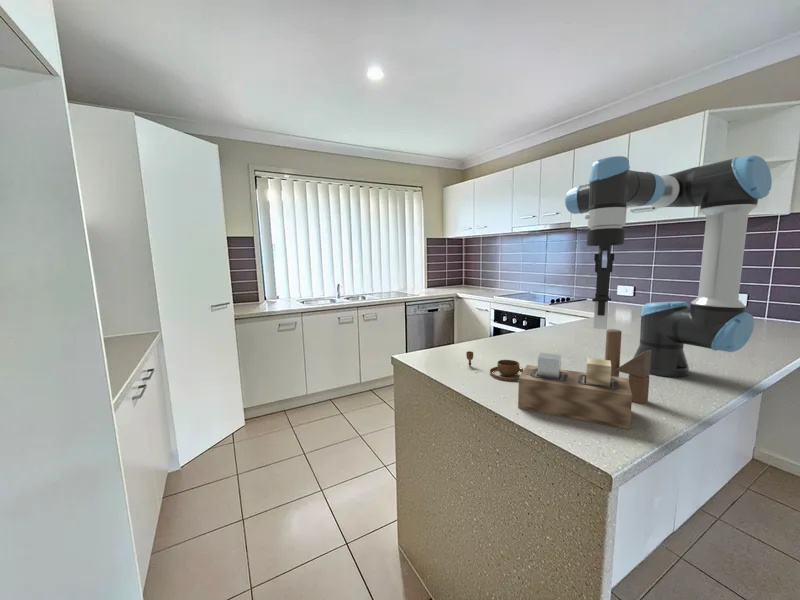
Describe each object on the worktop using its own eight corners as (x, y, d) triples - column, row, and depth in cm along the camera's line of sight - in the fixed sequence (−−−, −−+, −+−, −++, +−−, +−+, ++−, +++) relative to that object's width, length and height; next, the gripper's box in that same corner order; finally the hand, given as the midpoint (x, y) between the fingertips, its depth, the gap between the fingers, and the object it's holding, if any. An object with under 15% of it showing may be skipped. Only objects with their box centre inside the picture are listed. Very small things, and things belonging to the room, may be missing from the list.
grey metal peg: (560, 380, 88) (561, 355, 88) (558, 386, 84) (559, 360, 83) (539, 377, 91) (540, 352, 90) (537, 383, 87) (538, 357, 86)
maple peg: (608, 387, 83) (610, 360, 82) (609, 395, 79) (611, 366, 78) (586, 384, 85) (587, 358, 85) (585, 391, 81) (586, 363, 80)
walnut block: (625, 408, 85) (627, 377, 84) (629, 429, 74) (632, 394, 73) (526, 391, 97) (526, 364, 96) (518, 407, 86) (518, 377, 85)
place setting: (495, 386, 102) (496, 368, 102) (463, 367, 121) (463, 351, 121) (541, 379, 108) (542, 361, 107) (503, 361, 127) (503, 346, 126)
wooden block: (641, 404, 87) (646, 337, 85) (599, 390, 96) (603, 329, 94) (648, 401, 89) (653, 335, 86) (607, 388, 98) (610, 328, 96)
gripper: (587, 231, 85) (583, 322, 88) (586, 227, 74) (581, 331, 76) (623, 229, 81) (617, 324, 84) (627, 225, 70) (620, 335, 73)
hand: (600, 328), depth 80 cm, fingers closed
